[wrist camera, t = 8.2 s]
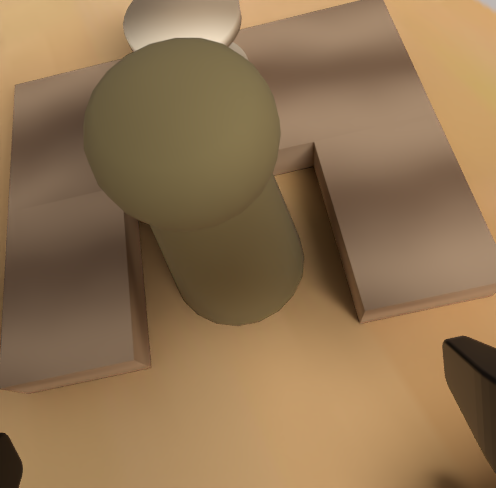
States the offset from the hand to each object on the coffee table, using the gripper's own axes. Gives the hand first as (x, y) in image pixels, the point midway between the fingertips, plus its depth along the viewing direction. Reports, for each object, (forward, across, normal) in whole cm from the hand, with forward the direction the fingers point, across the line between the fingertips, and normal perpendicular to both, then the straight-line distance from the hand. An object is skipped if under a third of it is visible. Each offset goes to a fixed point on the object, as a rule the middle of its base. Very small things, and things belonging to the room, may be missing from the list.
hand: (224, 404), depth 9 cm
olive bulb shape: (+12, 0, +2) cm, 12 cm away
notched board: (+14, 0, -1) cm, 14 cm away
